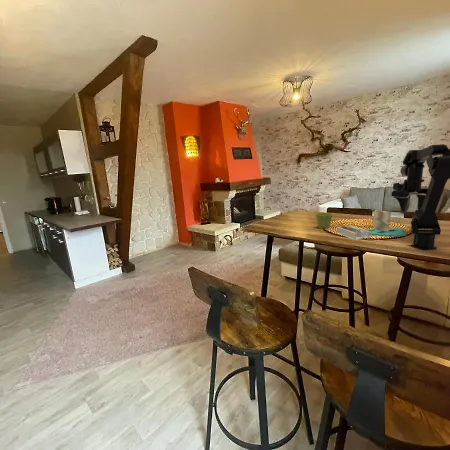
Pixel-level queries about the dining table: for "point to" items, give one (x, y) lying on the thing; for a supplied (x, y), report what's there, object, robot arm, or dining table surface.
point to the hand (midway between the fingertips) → (411, 210)
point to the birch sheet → (381, 220)
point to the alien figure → (392, 232)
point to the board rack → (353, 233)
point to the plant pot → (324, 219)
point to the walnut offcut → (346, 227)
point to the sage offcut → (356, 231)
